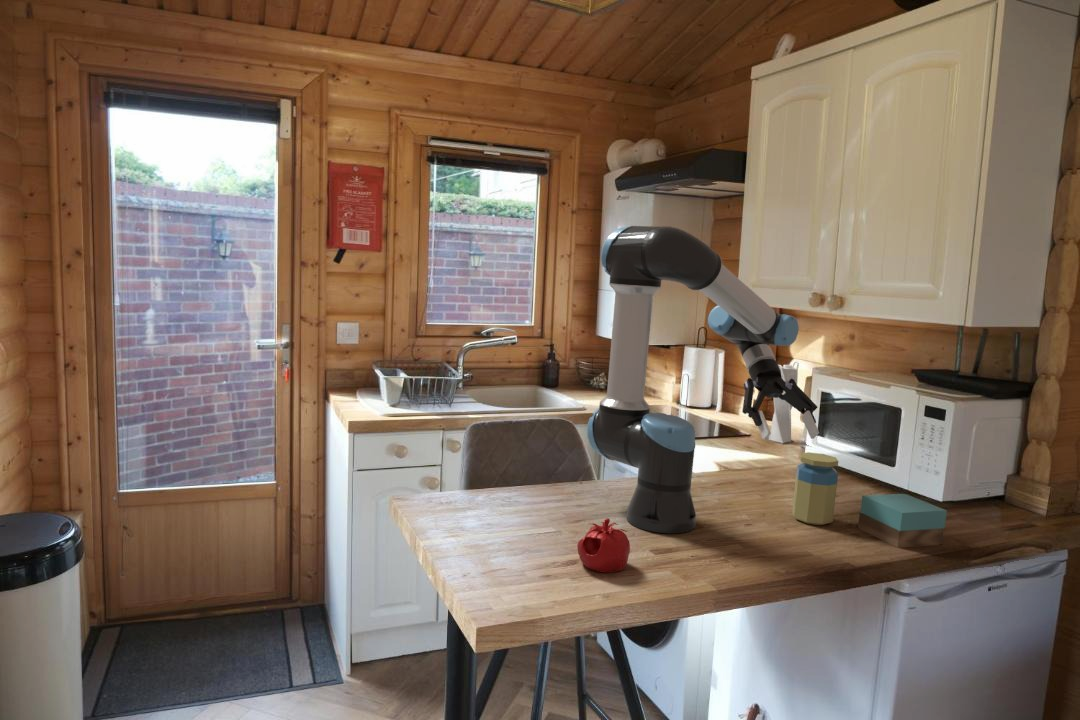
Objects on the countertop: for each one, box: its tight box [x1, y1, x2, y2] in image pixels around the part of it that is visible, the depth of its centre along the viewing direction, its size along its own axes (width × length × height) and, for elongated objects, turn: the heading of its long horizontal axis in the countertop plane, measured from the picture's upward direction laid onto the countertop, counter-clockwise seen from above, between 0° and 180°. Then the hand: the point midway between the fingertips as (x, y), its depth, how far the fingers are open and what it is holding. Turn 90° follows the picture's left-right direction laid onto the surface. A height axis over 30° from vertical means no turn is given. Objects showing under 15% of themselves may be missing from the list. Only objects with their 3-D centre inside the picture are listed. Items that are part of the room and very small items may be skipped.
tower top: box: [859, 493, 948, 531], centre depth 167 cm, size 12×12×4 cm
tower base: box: [857, 512, 945, 549], centre depth 167 cm, size 12×12×4 cm
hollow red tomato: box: [577, 517, 631, 574], centre depth 140 cm, size 10×10×9 cm
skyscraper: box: [764, 361, 800, 445], centre depth 255 cm, size 8×8×28 cm
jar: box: [791, 451, 839, 526], centre depth 174 cm, size 9×9×15 cm
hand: (791, 436), depth 183 cm, fingers open, 13 cm apart
